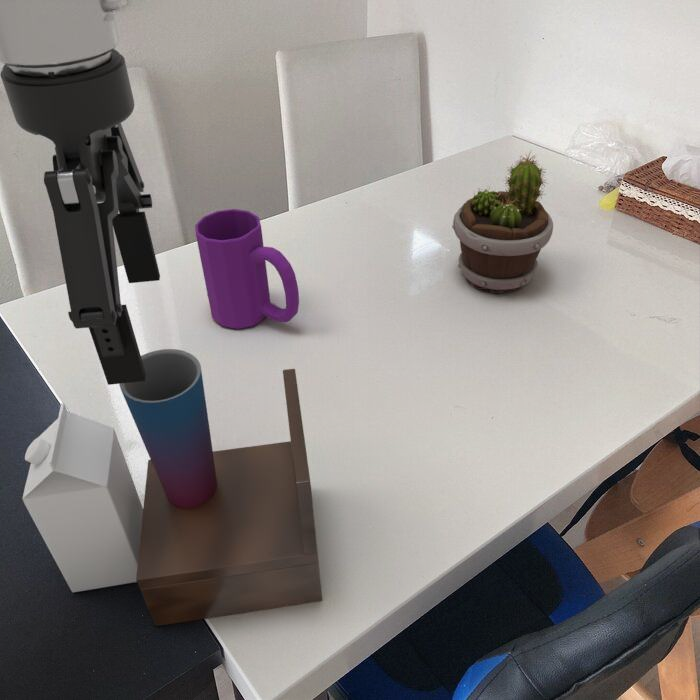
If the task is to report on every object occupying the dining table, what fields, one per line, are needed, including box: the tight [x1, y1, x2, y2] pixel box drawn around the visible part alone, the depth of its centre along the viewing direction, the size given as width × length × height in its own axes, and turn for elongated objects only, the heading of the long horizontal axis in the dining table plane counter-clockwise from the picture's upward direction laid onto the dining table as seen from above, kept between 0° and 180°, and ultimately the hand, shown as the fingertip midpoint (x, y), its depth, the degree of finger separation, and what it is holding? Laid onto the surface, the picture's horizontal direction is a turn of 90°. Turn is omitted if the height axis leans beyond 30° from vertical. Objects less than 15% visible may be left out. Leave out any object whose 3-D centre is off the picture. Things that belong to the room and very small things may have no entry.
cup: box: [118, 348, 217, 508], centre depth 62 cm, size 7×7×15 cm
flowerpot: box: [451, 150, 554, 294], centre depth 102 cm, size 14×15×20 cm
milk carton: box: [22, 402, 144, 593], centre depth 64 cm, size 7×7×19 cm
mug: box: [194, 208, 300, 330], centre depth 97 cm, size 9×16×15 cm, turn 58°
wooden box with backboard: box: [136, 368, 323, 627], centre depth 65 cm, size 16×14×18 cm
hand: (136, 325), depth 56 cm, fingers open, 13 cm apart
